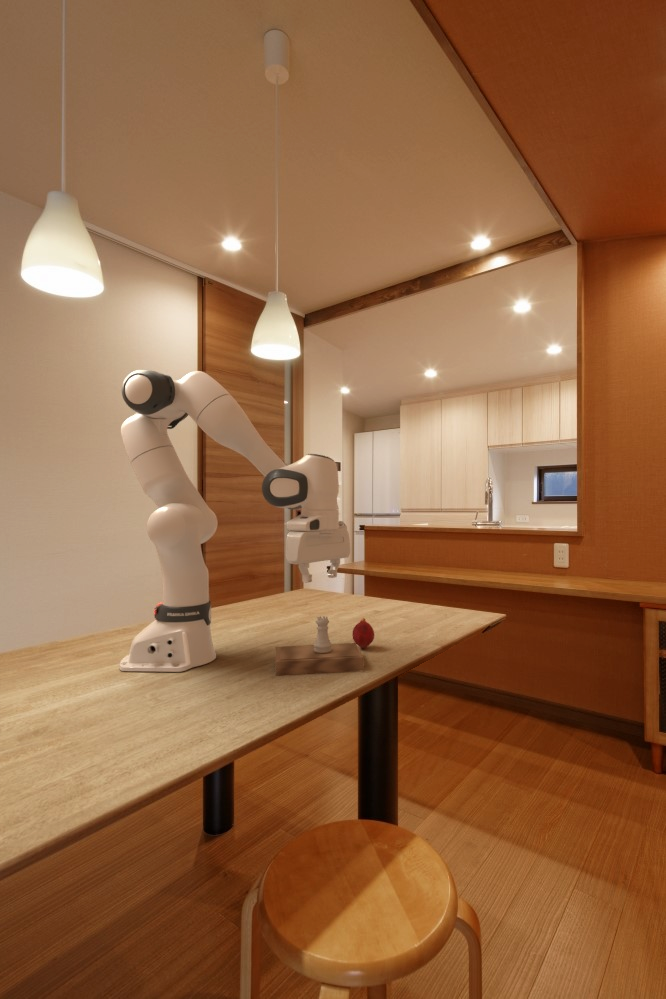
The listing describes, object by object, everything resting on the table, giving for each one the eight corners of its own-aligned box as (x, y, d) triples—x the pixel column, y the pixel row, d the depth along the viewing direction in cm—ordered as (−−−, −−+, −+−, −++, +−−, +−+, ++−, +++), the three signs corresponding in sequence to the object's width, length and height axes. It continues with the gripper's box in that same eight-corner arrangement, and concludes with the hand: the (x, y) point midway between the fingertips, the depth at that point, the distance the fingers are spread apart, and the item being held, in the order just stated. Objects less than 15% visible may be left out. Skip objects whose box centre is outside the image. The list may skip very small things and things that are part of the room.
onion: (375, 651, 127) (374, 620, 127) (352, 652, 127) (352, 620, 127) (373, 645, 133) (373, 615, 133) (352, 645, 133) (351, 615, 133)
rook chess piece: (326, 654, 115) (326, 620, 115) (310, 652, 117) (309, 618, 117) (335, 649, 119) (334, 616, 119) (319, 647, 121) (318, 614, 121)
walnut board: (275, 675, 111) (275, 661, 111) (275, 658, 123) (275, 646, 123) (363, 670, 113) (363, 656, 113) (355, 654, 125) (355, 642, 125)
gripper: (336, 520, 128) (336, 573, 128) (281, 522, 112) (281, 583, 112) (356, 521, 124) (356, 576, 124) (301, 523, 108) (301, 586, 108)
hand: (320, 579), depth 118 cm, fingers open, 8 cm apart
